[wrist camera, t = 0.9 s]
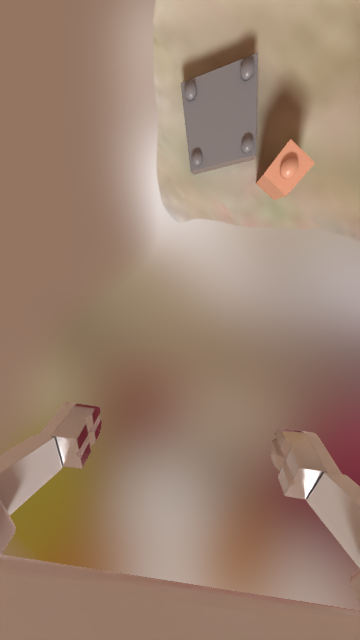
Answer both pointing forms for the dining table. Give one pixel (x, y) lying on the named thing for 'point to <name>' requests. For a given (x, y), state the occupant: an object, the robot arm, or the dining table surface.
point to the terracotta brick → (285, 171)
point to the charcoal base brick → (221, 115)
